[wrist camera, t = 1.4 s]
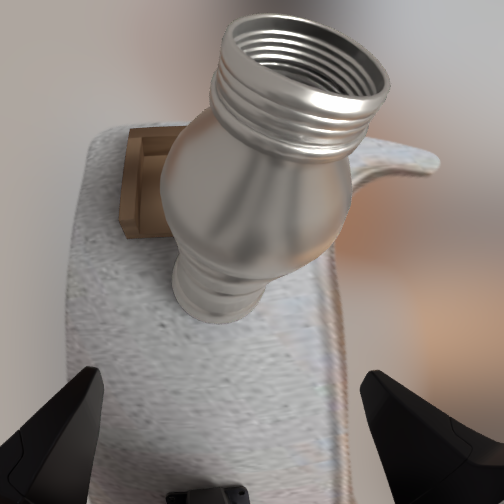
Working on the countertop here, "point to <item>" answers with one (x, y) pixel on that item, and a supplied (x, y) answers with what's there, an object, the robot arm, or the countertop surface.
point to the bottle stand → (145, 182)
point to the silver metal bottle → (266, 160)
